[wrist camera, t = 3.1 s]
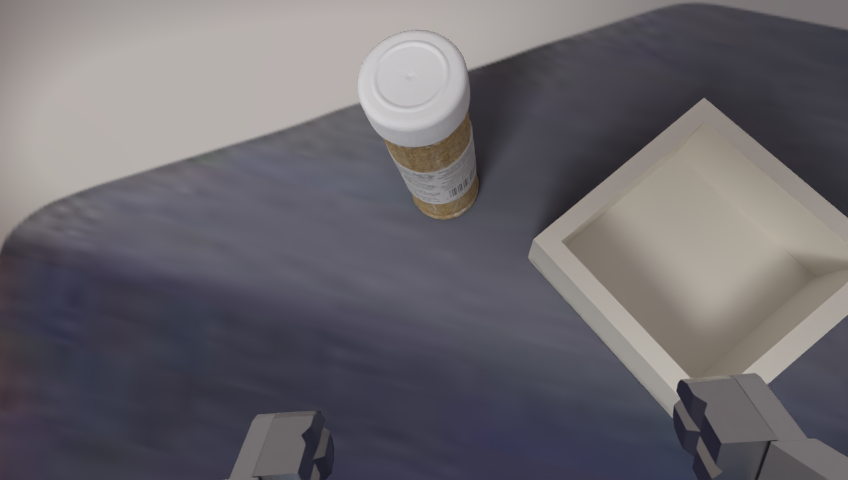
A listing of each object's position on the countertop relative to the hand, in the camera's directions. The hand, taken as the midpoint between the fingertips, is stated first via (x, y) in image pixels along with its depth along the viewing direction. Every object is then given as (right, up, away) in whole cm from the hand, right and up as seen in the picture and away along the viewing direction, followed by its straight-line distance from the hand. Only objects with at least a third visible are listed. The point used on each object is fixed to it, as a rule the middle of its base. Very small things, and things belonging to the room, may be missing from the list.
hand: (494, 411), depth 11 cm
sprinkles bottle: (0, +7, +21) cm, 22 cm away
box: (+13, +2, +17) cm, 22 cm away
